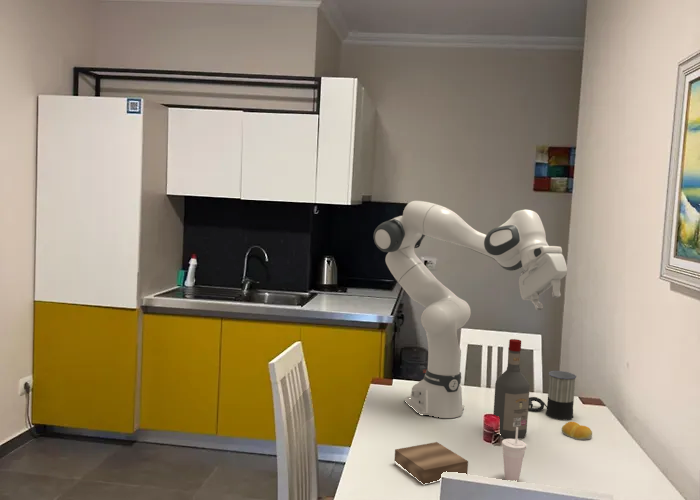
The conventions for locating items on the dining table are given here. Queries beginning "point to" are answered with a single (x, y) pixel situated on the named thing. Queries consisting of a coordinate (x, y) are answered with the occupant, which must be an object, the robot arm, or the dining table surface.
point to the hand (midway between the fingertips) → (548, 303)
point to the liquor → (512, 396)
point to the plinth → (430, 461)
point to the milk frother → (558, 396)
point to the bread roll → (577, 431)
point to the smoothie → (513, 457)
